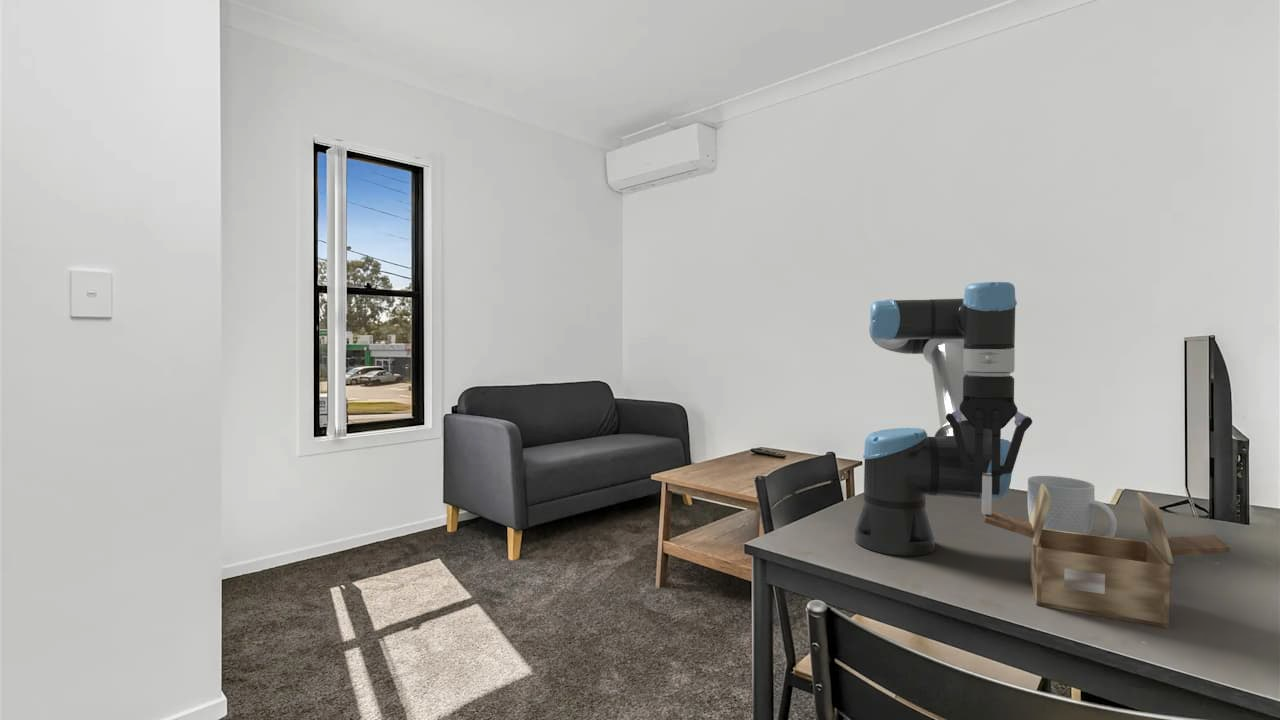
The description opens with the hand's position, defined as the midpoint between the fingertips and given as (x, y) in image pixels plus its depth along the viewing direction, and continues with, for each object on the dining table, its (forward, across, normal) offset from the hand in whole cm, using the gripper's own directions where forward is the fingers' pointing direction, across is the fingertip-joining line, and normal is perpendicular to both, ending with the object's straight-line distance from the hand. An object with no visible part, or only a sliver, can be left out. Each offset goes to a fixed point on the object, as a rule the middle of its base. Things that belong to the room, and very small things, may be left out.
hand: (986, 512), depth 103 cm
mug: (+13, +14, +27) cm, 33 cm away
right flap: (-1, +22, 0) cm, 22 cm away
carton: (+12, +15, 0) cm, 19 cm away
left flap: (-1, +8, 0) cm, 8 cm away
